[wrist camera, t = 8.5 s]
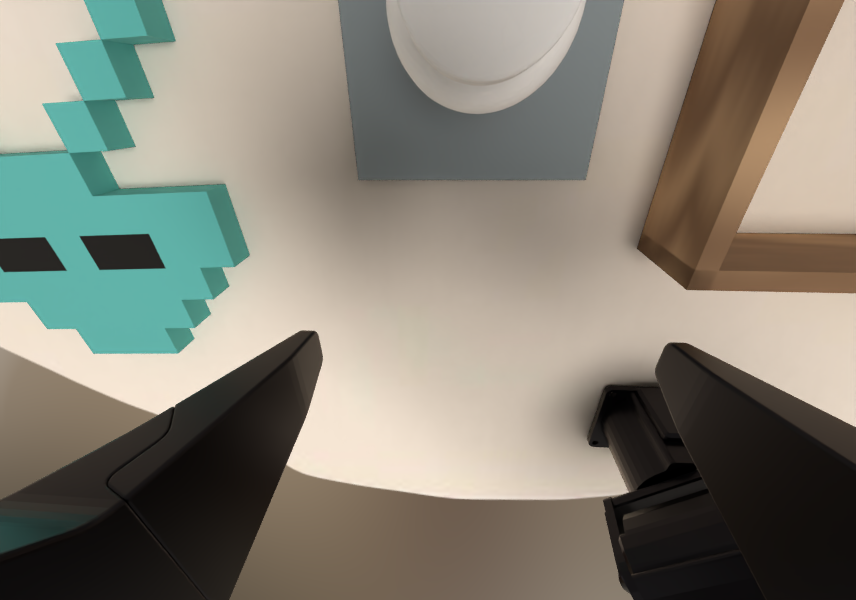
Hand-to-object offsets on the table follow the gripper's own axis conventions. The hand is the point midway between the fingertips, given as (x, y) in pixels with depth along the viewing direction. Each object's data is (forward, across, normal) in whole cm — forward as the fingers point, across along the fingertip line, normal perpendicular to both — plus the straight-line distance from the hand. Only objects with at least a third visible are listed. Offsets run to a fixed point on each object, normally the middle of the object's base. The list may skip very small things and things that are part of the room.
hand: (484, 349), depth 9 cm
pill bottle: (+12, 0, -8) cm, 14 cm away
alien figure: (+13, +24, 0) cm, 27 cm away
